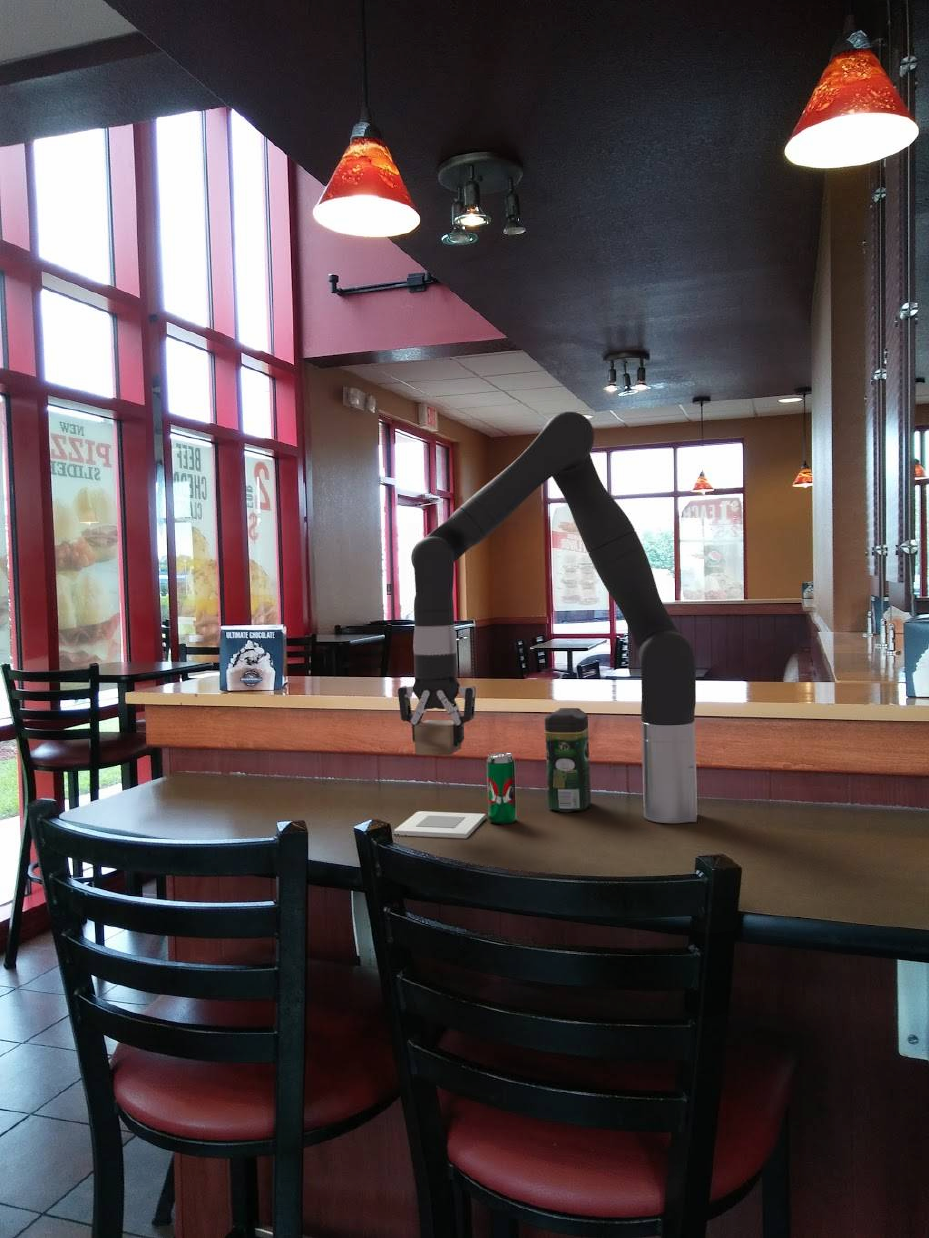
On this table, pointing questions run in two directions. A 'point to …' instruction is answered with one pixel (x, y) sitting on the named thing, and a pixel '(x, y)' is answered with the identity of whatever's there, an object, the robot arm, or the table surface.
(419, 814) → the board
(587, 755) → the coffee jar
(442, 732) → the walnut block
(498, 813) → the soda can
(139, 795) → the table surface
